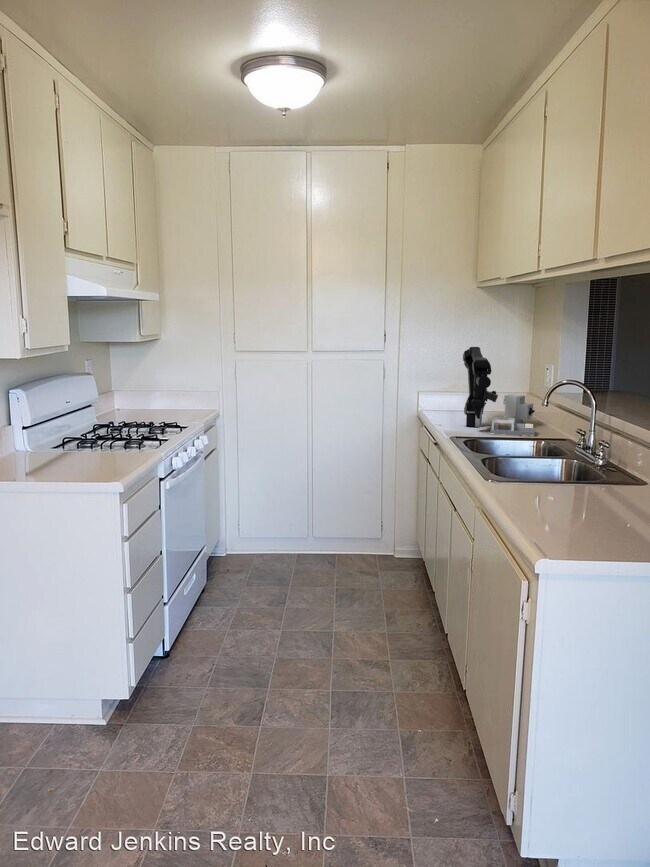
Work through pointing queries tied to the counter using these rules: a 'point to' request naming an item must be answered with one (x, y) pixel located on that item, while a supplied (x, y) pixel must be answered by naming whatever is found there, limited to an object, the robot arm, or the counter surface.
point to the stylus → (478, 421)
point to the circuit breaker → (517, 409)
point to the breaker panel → (510, 430)
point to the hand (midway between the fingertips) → (478, 418)
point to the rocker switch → (528, 425)
